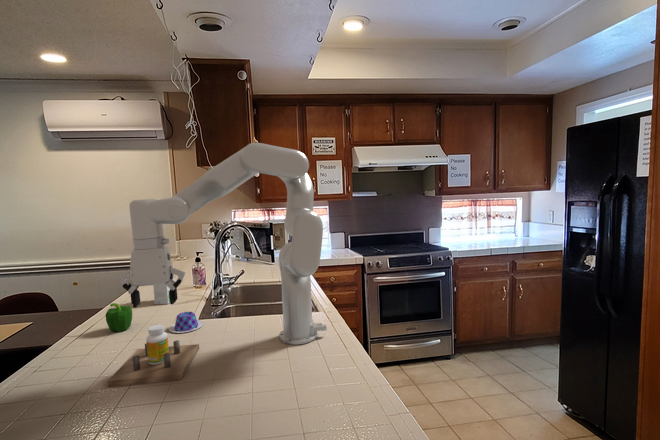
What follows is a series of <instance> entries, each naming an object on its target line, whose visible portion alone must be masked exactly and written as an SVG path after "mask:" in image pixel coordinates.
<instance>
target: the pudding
mask: <svg viewBox="0 0 660 440" xmlns="http://www.w3.org/2000/svg"><path fill="white" fill-rule="evenodd" d="M204 324H205V323H204V321H203V320H200V319H197V317H196V314H195V312H193V311H184V312H180V313H179V314H177V315H176V319H175V322H174V323H173V324H171V325H170V326H169V327H168V329H167V330H168V331H169V332H171V333H177V334H179V333H180V334H181V333H189V332H192V331H196V330H198V329H199V328H202V327H203V326H204Z"/></svg>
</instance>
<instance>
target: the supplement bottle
mask: <svg viewBox="0 0 660 440" xmlns="http://www.w3.org/2000/svg"><path fill="white" fill-rule="evenodd" d="M168 336H169V335H168V333H167V332H165V325H163V324H156V325H152V326H150V327H149V328H148V335H147V336H146V339H145V340H146V343H147V353H148V363H149V364H151V365H157V364H161V363H164V354H165V353H169V347H170V346H169V337H168Z"/></svg>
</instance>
